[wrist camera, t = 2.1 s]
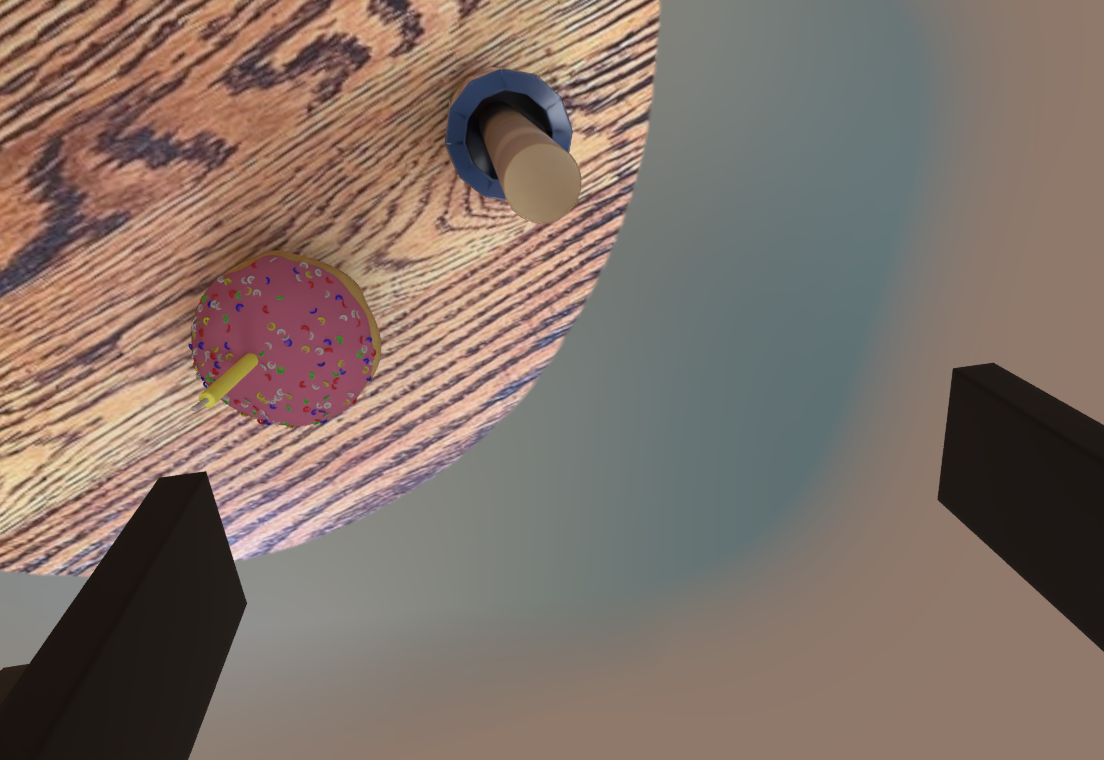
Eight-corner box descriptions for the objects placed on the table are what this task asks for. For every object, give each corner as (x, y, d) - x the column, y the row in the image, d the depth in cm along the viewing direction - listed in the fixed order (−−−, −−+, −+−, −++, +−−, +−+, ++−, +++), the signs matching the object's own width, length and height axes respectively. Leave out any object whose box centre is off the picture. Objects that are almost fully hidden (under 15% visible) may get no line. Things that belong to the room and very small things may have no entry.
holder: (489, 44, 37) (498, 41, 30) (569, 114, 39) (596, 128, 31) (427, 129, 38) (421, 146, 31) (506, 194, 40) (518, 225, 33)
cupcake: (233, 391, 42) (156, 509, 31) (204, 235, 39) (106, 306, 28) (393, 383, 43) (374, 494, 32) (379, 229, 40) (351, 295, 29)
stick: (495, 92, 37) (537, 125, 19) (527, 120, 38) (597, 177, 20) (470, 126, 38) (487, 190, 20) (502, 152, 39) (548, 239, 20)
